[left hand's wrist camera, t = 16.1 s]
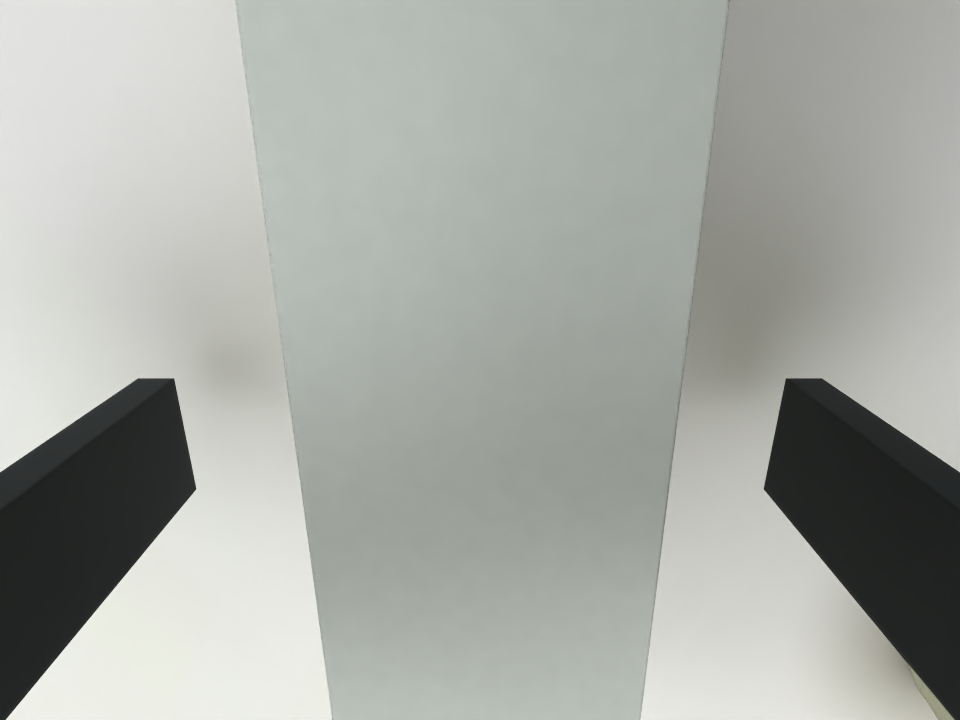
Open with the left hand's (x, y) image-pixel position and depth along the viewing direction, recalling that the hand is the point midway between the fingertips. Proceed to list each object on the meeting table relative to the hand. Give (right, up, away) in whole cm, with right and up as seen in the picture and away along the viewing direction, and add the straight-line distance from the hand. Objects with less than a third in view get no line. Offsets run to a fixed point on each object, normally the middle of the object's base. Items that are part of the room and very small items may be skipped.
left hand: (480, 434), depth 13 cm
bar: (0, +24, -5) cm, 24 cm away
